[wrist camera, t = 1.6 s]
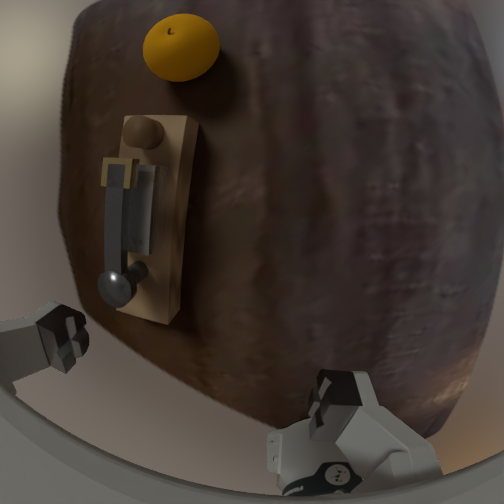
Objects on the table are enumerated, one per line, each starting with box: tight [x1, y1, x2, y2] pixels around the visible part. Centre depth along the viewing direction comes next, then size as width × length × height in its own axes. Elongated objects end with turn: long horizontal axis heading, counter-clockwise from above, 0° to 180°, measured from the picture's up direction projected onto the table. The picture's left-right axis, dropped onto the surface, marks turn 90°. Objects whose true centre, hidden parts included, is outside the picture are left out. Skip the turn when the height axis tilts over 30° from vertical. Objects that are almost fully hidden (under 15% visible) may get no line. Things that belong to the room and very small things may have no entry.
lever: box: [98, 158, 140, 308], centre depth 21 cm, size 13×4×2 cm, turn 171°
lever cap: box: [128, 164, 169, 256], centre depth 24 cm, size 8×5×3 cm, turn 171°
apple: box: [143, 14, 220, 82], centre depth 20 cm, size 8×8×8 cm
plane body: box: [116, 115, 199, 325], centre depth 26 cm, size 22×7×8 cm, turn 171°
